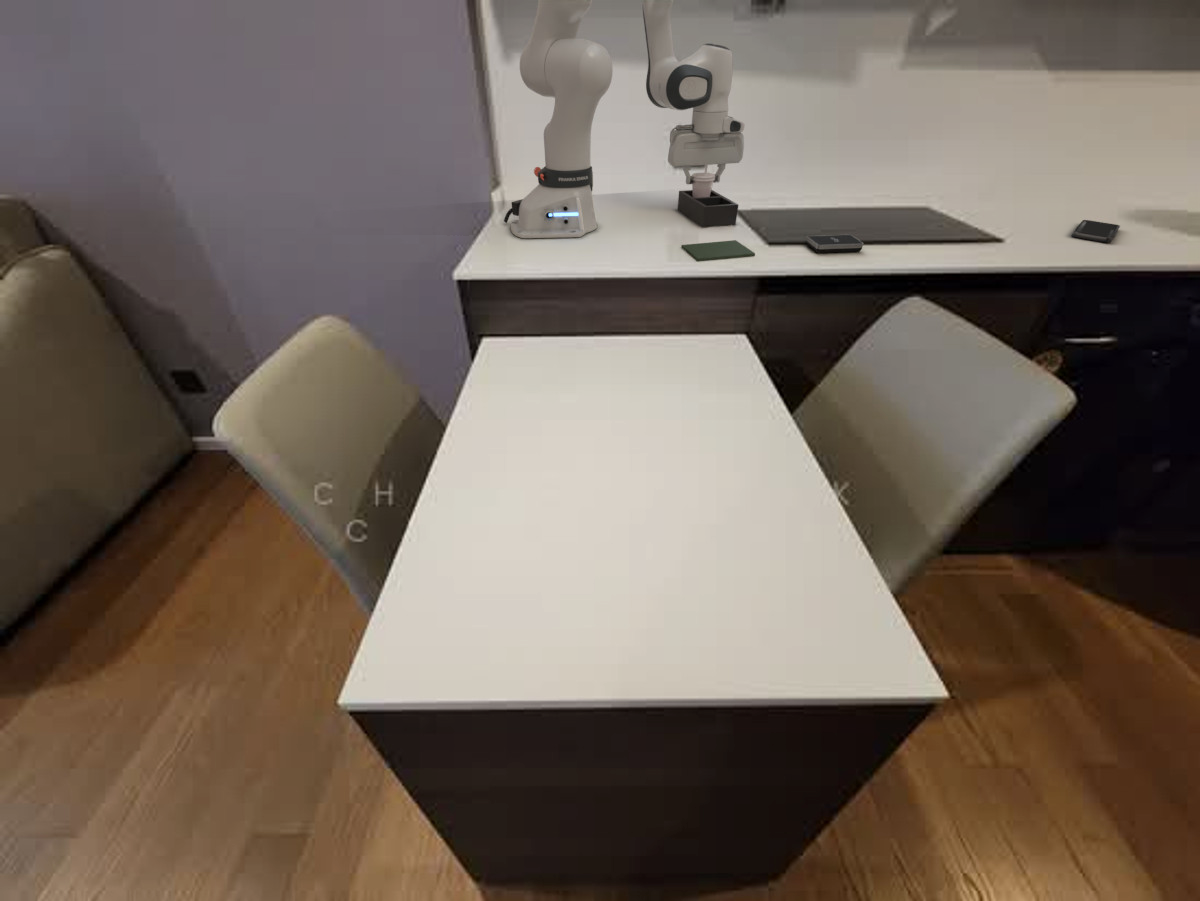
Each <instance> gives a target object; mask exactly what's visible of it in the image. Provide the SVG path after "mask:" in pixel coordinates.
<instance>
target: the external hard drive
mask: <svg viewBox="0 0 1200 901" xmlns="http://www.w3.org/2000/svg"><path fill="white" fill-rule="evenodd" d="M805 245H807V246H808V247H810V248H811V249H812V250H813V251H814V252H815V253H818V254H822V253H847V252H848V253H849V252H850V253H851V252H860V251H862V249H863V246H864V242H863V241H861V240H860V239H858V237H855V236H853V235H852V234H829V235H828V234H824V235H807V236H806V240H805Z"/></svg>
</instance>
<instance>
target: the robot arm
mask: <svg viewBox="0 0 1200 901" xmlns="http://www.w3.org/2000/svg"><path fill="white" fill-rule="evenodd" d="M674 1H675V0H641V6H642V17H643V25H644V35H645V42H646V51H647V61H648V62H647V73H646V79H645V90H646V94H647V97H648V99H649V101H650V102H651V103H652V104H653V105H654V106H655V107H657V108H661V109H671V110H675V111H686V110H690V109H692V116H691V124H683V125H682V124H678V125H677V124H676V125H675V126H674V127H673V128H671V130H670V133H669V147H668V153H667V154H668V155H667V162H668V164H669V166H672V167H674V168H675V167H682V171H683V173H684V176H685V184H686V185H692V184H693V179H694V177H692V175H691V173H690V171H691V170H692V169H691V168H692V167H694V166H705V165H708V166H711V165H716V166H717V170H716V172H715V173H713V174H714V175H715V180H714V181H713V184H714V183H715V184H716V183H720V181H721V176H722V174H723V172H724V171H725V169H726V165H727V164H729V165H730V164H739V163H741V161H742V160H743V158H744V150H745V137H744V134H743V133H742V132H743V131H744V130H745V123H744V122H743V121H741V120H738V119H736V118H734V117H732V116H729V96H730V93H731V89H732V82H733V71H734V56H733V52H732V50H731V49H730V48H728V47H727V46H724V45H722V44H721V45H720V44H714V43H704V44H702V45H701V46H700V48H698V49H697V50H696V51H695V52H694V53H693V54H691V55H689V56H688V57H686V58H684V59H681V60H680V61H678V59H677V58H676V55H675V51H674V41H673V30H672V19H671V18H672V17H671V14H672V7H673V3H674ZM592 3H593V0H538V2H537V8H536V14H535V19H534V23H533V26H532V31H531V35H530V38H529V40H528V42H527V44H526V45H525V47H524V48H523V50H522V52H521V54H520V56H519V57H520V58H519V73H520V76H521V79H522V81H523V84H524V85H525V86H526V87H527V89H529V90H531V91H532V92H534V93H536V94H538V95H539V96H542V97H545V98H554V107H553V112H552V116H551V119H550V121H549V122H548V123H547V124H546V125H545V127H544V130H543V146H544V147H543V148H544V162H545V166H544V167H542V168H541V167H540V166H536V167H534V169H533V174H534V175H535V177H537V181H538V182H537V183H538V185H536V187H535V188H533V189H532V190H531V191H530V192H529V193H528V194H527V195H526V196H524V197H523V198H522V199H517V200H515V201H511V208H510V209H508V211H507V212H506V214H505V216H504V219H503V222H504V223H506V224H507V223H508V221H509V219H510V216H511V214H512V216H516V217H518V219H515V220H513V221H511V223H510V231H511V233H512V234H513V235H515V236H516V237H517V238H521V239H555V238H556V239H557V238H580V237H583V236H584V235H586V234H587V233H591V232H593V231H595V230H597V228H598V226H599V225H598V222H597V219H596V214H595V208H594V203H593V202H594V201H593V187H594V172H593V166H592V165H591V143H592V142H591V138H592V136H591V135H592V125H593V121H594V117H595V113H596V110H597V107H598V105H599V103H600V101H601V99H602V98H603V97H604V95H605V94H606V93H607V91H609V89H610V86H611V83H612V79H613V62H612V58H611V56H610V53H609V51H608V50H607V49H606V48H605V47H604V46H603V45H602V44H600V43H598V42H595V41H593V40H589V39H587V38H577V36H578V31H579V28H580V25H581V22H582V20H583V18H584V16H585V15H586V14H587V12H588V11H589V10H590V9H591V6H592Z"/></svg>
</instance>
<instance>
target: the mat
mask: <svg viewBox="0 0 1200 901" xmlns="http://www.w3.org/2000/svg"><path fill="white" fill-rule="evenodd" d="M680 246H681V249H682V250H684V251H685V252H686V253H687V254H688V255H690V256H691V257H692V258H693V259H694V260H695V261H696V262H705V261H706V262H707V261H716V260H727V259H736V258H737V259H738V258H748V257H755V256H756V253H755V252H754V251H752V250H751V249H749V248H748V247H746V246H745V245H744V244H742V243H741V242H740V241H738V240H736V239H735V240H721V241H712V242H711V241H709V242H700V243H689V244H687V243H686V244H681V245H680Z"/></svg>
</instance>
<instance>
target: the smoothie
mask: <svg viewBox="0 0 1200 901" xmlns="http://www.w3.org/2000/svg"><path fill="white" fill-rule="evenodd" d="M708 166H709V165H704V172H694V173H692V174H691V176H692V177H694V179H693V184H691V185H692V186H691V190H692V195H693V198H701V197H710V194H711V190H713V185H714V182H713V181H714V180H715V175H714V174H715V173H710V172H708Z"/></svg>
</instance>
